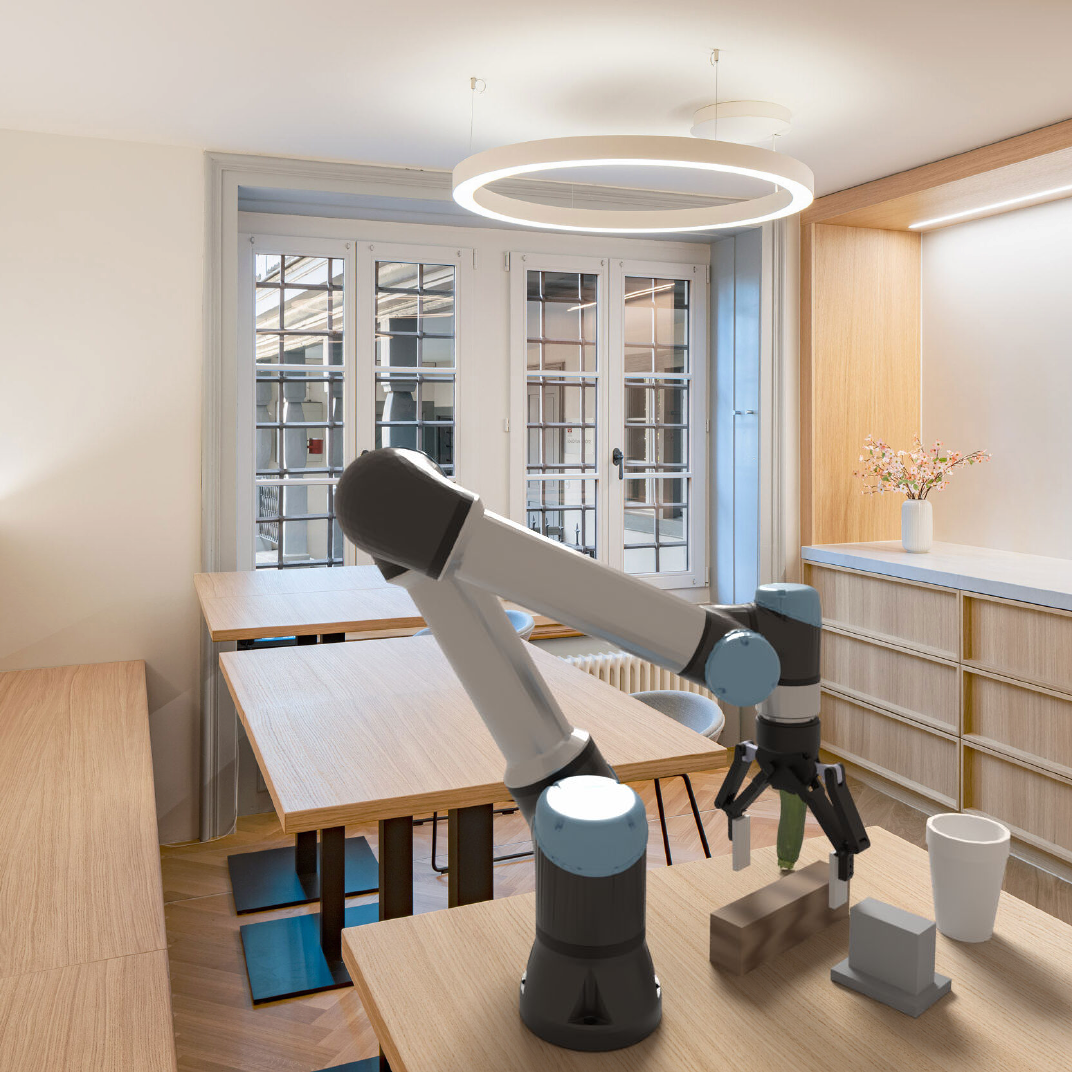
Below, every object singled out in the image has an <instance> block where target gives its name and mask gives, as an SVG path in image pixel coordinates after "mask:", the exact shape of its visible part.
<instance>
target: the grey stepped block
mask: <svg viewBox="0 0 1072 1072" xmlns="http://www.w3.org/2000/svg"><path fill="white" fill-rule="evenodd" d="M936 923H937V922H936V921H934V920H932V919H929V918H926V917H924V916H921V915H918V914H915V913H913V912H910V911H908V910H905V909H902V908H901V907H900V908H899V907H897V906H894V905H892V904H889V903H887V902H884V901H881V900H878V899H876V898H873V897H870V896H868V897H865V899H863V900H861V901H859V902H857V903H856V904H854V905H853V906H851V907H849V927H848V928H849V931H848V932H849V933H848V935H849V937H848V956H847V957H846V958H844V959H843V960H842V961H840V962H838V963H837V964H835V965H834V966H833V967H831V968H830V980H832V981H833V982H836V983H838V984H841V985H843V986H845V987H848V988H850V989H852V990H853V991H856V992H858V993H860V994H863V995H864V996H867V997H869V998H871V999H873V1000H875V1001H877V1002H880V1003H882V1004H884V1005H887V1006H888V1007H891V1008H892V1009H895V1010H898V1011H900V1012H902V1013H903V1014H906V1015H908V1016H910V1017H913V1018H915V1019H917V1018H918V1017H919V1016H920V1015H922V1014H923V1013H924V1012H925V1011H926V1010H928V1009H930V1007H932V1005H934V1004H935V1003H936V1002H937V1001H939V1000H940V999H941V998H942V997H944V996H946V995H947V993H948V992H949V991H951V990H952V982H953V981H952V978H950V977H948V976H946V975H943V974H941V973H939V972H936V971H935V970H936V969H935V968H936V967H935V966H936V948H937V947H936V945H937V943H936V942H937V927H936Z"/></svg>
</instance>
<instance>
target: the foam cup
mask: <svg viewBox="0 0 1072 1072" xmlns="http://www.w3.org/2000/svg"><path fill="white" fill-rule="evenodd" d="M925 825H926V829H925V830H926V831H925V844H926V845H927V850H928V859H929V860H928V861H929V870H930V880H931V881H930V882H931V889H932V891H931V892H932V899H933V911H934V919H935V921H934V922H937V923H936V929H938V931H939V933H941V934H942V935H944V936H946V937H948V938H950V939H953V940H955V941H959V942H963V943H972V944H973V943H974V944H977V943H985V942H984V941H986V942H987V941H989V940H991V939H992V934H993V931H994V927H995V921H996V917H997V916H996V915H997V911H998V906H999V901H1000V896H1001V891H1002V885H1003V880H1004V876H1005V870H1006V865H1007V860H1008V858H1009V857H1010V847H1011V846H1010V845H1011V830H1009V829H1008V828H1007V827H1006V826H1004V825H1003V824H1002V823H999V822H997V821H995V820H992V819H990V818H987V817H983V816H977V815H975V814H969V813H959V812H958V813H957V812H956V813H955V812H947V813H938V814H935V815H933V816H930V817H928V818H927V820H926V824H925Z"/></svg>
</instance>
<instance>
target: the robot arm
mask: <svg viewBox="0 0 1072 1072" xmlns="http://www.w3.org/2000/svg"><path fill="white" fill-rule="evenodd" d="M338 479H339V480H338V481H337V484H336V489H335V492H334V502H333V503H334V504H333V507H334V513H335V517H336V521H337V524H338V526H339V528H340V530H341V531H342V533H343V535H344V536H345V538H347V540H348V541H350V543H352V544H353V545H354V546H355V547H356V548H357V549H358V550H360V551H362V552H364V553H365V554H367V555H369V556H371V558H372V560H373V562H374V563H375V566H376V567H377V568H378V570H379V572H380V573H381V576H382V577H383V578H384V580H385V581H386V583H388V584H392V585H395V586H398V587H402V588H404V589H405V590H406V591H407V593H408V595H409V596H410V598H411V601H412V602H413V603H414V605H415V607H416V608H417V611H418V612H419V614H420V615H421V618H422V619H423V621H424V622H425V623H426V625H427V627H428V628H429V631H430V633H431V634H432V636H433V637H434V639H435V641H436V643H437V645H438V646H439V648H440V650H441V651H442V654H443V655H444V657H445V659H446V660H447V661H448V663H449V665H450V667H451V668H452V670H453V672H454V673H455V675H456V677H457V679H458V681H459V682H460V684H461V685H462V687H463V689H464V691H465V692H466V695H467V696H468V697H469V700H470V701H471V703H472V704H473V706H474V708H475V709H476V711H477V714H478V715H479V717H480V718H481V720H482V722H483V723H484V725H485V727H486V728H487V731H488V732H489V733H490V735H491V737H492V740H493V741H494V742H495V745H496V746H497V748H498V749H499V751H500V752H501V754H502V756H503V758H504V759H505V761H506V768H505V770H504V773H503V779H502V781H503V783H504V786H505V788H506V789H507V791H508V792H509V793H510V796H511V797H512V799H513V801H514V803H515V805H516V806H517V807H518V809H519V811H520V813H521V814H522V816H523V818H524V820H525V822H526V823H527V825H528V828H529V830H530V835H531V842H532V851H533V856H534V871H535V879H534V880H535V887H534V888H535V891H534V892H535V937H534V941H533V944H532V947H531V950H530V953H529V956H528V960H527V964H526V970H525V971H524V973H523V975H522V976H521V980H520V983H519V988H518V990H519V991H518V992H519V994H518V996H519V1000H518V1001H519V1005H518V1006H519V1013H520V1017H521V1019H522V1021H523V1023H524V1024H525V1025H526V1027H527V1028H528V1029H529V1030H530V1031H531V1032H532V1033H534V1034H535V1035H536V1036H537V1037H539V1038H541V1039H543V1040H545V1041H547V1042H548V1043H551V1044H553V1045H557V1046H559V1047H563V1048H566V1049H571V1050H577V1051H578V1050H579V1051H584V1052H585V1051H587V1052H598V1051H600V1052H601V1051H613V1050H615V1049H616V1050H617V1049H622V1048H625V1047H628V1046H631V1045H634V1044H636V1043H638V1042H640V1041H643V1040H644V1039H645V1038H647V1037H648V1036H649V1035H651V1034H653V1032H654V1031H655V1030H656V1029H657V1027H658V1025H659V1024H660V1021H661V1019H662V1014H663V1008H662V1007H663V991H662V987H661V986H662V985H661V983H660V981H659V978H658V976H657V974H656V971H655V965H654V962H653V958H652V954H651V952H650V949H649V945H648V943H647V937H646V936H647V935H646V934H647V929H646V928H647V926H646V925H647V923H646V921H647V852H648V851H647V849H648V848H647V847H648V845H647V844H648V840H649V832H650V831H649V823H648V818H647V811H646V806H645V803H644V801H643V798H641V796H640V795H639V793H638V792H636V790H634V789H633V788H632V787H631V786H629V785H627V784H623V783H622V784H621V782H620V779H619V777H618V774H617V773H616V772H615V770H614V768H613V767H612V765H611V764H609V763H608V762H607V759H605V758H604V756H603V754H602V752H601V751H600V749H599V748H598V746H597V744H596V742H595V741H594V739H593V737H592V735H591V733H590V732H589V731H588V730H587V729H586V728H585V727H581V726H577V725H572V724H570V722H569V721H568V719H567V717H566V715H565V714H564V712H563V710H562V708H561V707H560V704H559V703H558V701H557V700H556V698H555V696H554V695H553V693H552V691H551V690H550V687H549V686H548V684H547V683H546V681H545V679H544V677H543V675H542V674H541V672H540V670H539V668H538V667H537V665H536V663H535V661H534V660H533V658H532V656H531V653H530V652H529V651H528V649H527V647H526V645H525V644H524V641H523V640H522V639H521V636H520V635H519V633H518V631H517V630H516V628H515V626H514V625H513V623H512V620H511V619H510V617H509V616H508V614H507V612H506V610H505V609H504V607H503V605H502V603H501V602H500V600H499V598H501V599H504V600H506V601H508V602H510V603H512V604H515V605H517V606H520V607H521V608H524V609H527V610H528V611H531V612H533V613H536V614H537V615H540V616H542V617H545V618H547V619H549V620H551V621H552V622H553V621H554V622H556V623H558V624H560V625H563V626H565V627H566V628H570V629H572V630H574V631H576V632H579V633H581V634H583V635H586V636H587V637H590V638H593V639H594V640H597V641H599V642H602V643H604V644H606V645H609V646H611V647H613V648H615V649H616V650H617V649H618V650H619V651H622V652H625V653H627V654H629V655H630V656H631V655H632V656H633V657H636V658H638V659H640V660H642V661H645V662H647V663H649V664H652V665H654V666H657V667H658V668H661V669H663V670H665V671H668V672H670V673H672V674H673V675H676V676H678V677H680V678H682V679H684V680H686V681H689V682H691V683H693V684H695V685H698V686H700V687H702V688H704V689H707V690H708V691H710V693H712V694H713V696H714V697H715V698H716V699H718V700H720V701H723V702H725V703H726V704H728V705H731V706H734V707H740V708H748V707H749V708H750V707H753V706H755V708H754V709H755V710H756V712H758V713H757V714H756V716H755V742H756V744H757V745H756V744H755V742H754V741H753V740H752V739H748V740H745V741H742V742H740V743H737V744H735V746H734V755H733V761H732V762H731V766H730V768H729V769H728V771H727V773H726V776H725V778H724V780H723V783H722V784H721V787H720V789H719V791H718V793H717V795H716V797H715V799H714V802H713V805H714V808H716V809H717V810H722V811H723V812H724V813H725V815H726V817H727V837H728V838H727V839H728V840H729V841H730V842H732V847H731V848H732V855H731V857H732V858H731V859H732V871H734V872H737V873H738V872H740V871H742V870H744V869H745V868H748V867H749V866H751V815H750V814H746V813H745V812H747V811H748V809H749V807H750V806H751V805H752V804H753V803H755V801H756V800H757V799H758V798H759V797H760V796H761V795H762V794H763V792H764V791H765V790H766V789H767V788H768V787H769V786H771V789H773V790H777V791H779V790H784V791H786V792H787V793H789V794H793V795H795V794H798V796H799V797H800V799H801V800H802V801H803V802H804V803H806V804H807V808H809V810H810V812H811V814H812V815H813V817H814V818H815V819H816V822H817V823H818V825H819V826H820V828H821V829H822V831H823V832H824V834H825V835H826V837H827V839H828V841H829V842H830V844H831V845H832V847H833V849H834V850H831V851H830V852H829V853H828V857H829V858H828V860H829V861H828V863H829V907H830V908H833V909H836V908H838V907H839V906H841V905H842V904H844V903H846V902H847V881H848V880H849V879H850V880H851V879H853V876H854V875H855V872H854V871H855V870H854V869H855V865H854V864H855V863H854V862H855V855H859V854H861V853H862V852H864V851H866V850H867V849H869V848H871V846H872V845H871V840H870V838H869V835H868V833H867V831H866V827H865V826H864V823H863V820H862V818H861V817H860V816H861V815H860V813H859V811H858V809H857V806H856V803H855V802H854V797H853V796H852V794H851V791H850V788H849V786H848V784H847V778H846V777H847V775H846V768H845V765H844V764H843V763H841V762H836V763H835V764H828V763H827V764H826V763H822V761H821V759H820V756H819V753H820V749H821V748H820V747H821V743H822V741H821V740H822V739H821V737H822V736H821V735H822V731H821V729H822V727H821V726H822V725H821V723H822V722H821V721H822V720H821V718H820V717H819V716H818V715H819V714H820V713H821V708H822V707H821V695H822V694H821V689H822V687H821V683H822V681H821V676H822V675H821V667H822V666H821V662H822V661H821V658H822V657H821V656H822V628H823V621H822V606H821V605H822V604H821V596H820V593H819V591H818V590H817V589H816V588H815V587H813V586H810V585H808V584H802V583H795V582H793V583H792V582H775V583H774V582H773V583H764V584H761V585H760V586H758V587H756V589H755V595H754V598H753V601H752V602H747V603H737V604H736V603H733V604H695V603H692V602H690V601H688V600H686V599H684V598H682V597H679V596H677V595H675V594H672V593H671V592H669V591H666V590H664V589H663V588H662V589H661V588H659V587H657V586H655V585H653V584H650V583H648V582H646V581H644V580H642V579H639V578H637V577H635V576H633V575H631V574H628V573H626V572H624V571H622V570H620V569H617V568H616V567H614V566H611V565H609V564H606V563H605V562H602V561H601V560H598V559H596V558H593V557H591V556H589V555H587V554H585V553H582V552H580V551H578V550H576V549H574V548H572V547H569V546H566V545H565V544H563V543H561V542H558V541H556V540H554V539H551V538H549V537H547V536H545V535H543V534H540V533H538V532H536V531H534V530H531V529H530V528H528V527H525V526H522V525H521V524H518V523H516V522H514V521H512V520H510V519H507V518H505V517H503V516H501V515H499V514H497V513H494V512H492V511H489V510H488V509H486V508H485V507H484V505H483V502H482V500H481V497H480V495H479V494H477V493H474V492H472V491H470V490H468V489H466V488H463V487H462V486H460V485H457V484H456V483H454V482H452V481H451V480H449V478H448V475H447V474H446V473H445V471H444V469H443V468H442V466H441V465H440V464H439V463H438V462H437V461H436V460H435V459H434V458H433V457H432V456H430V455H428V454H427V453H425V452H424V451H422V450H420V449H417V448H415V447H414V448H413V447H410V446H406V445H391V446H385V447H382V448H376V449H373V450H372V449H371V450H370V451H368V452H365V453H363V454H362V455H360V456H358V457H356V458H355V459H353V461H352V462H351V463H350V464H349V465H348V466H347V467H346V468H345V470H344V471H343V472H342V474H341V476H340V477H339V478H338ZM498 597H499V598H498ZM753 761H756V763H757V764H758V766H759V768H760V771H759V772H758V773H757V774H756V775H755V776H753V778H752V780H751V782H750V783H749V784H748V785H747V786H746V787H745V789H743V791H741V793H740V794H739V795H737V794H738V793H739V790H740V789H741V786H742V784H743V782H744V780H745V778H746V777H747V774H748V772H749V770H750V768H751V766H752V765H753ZM819 776H820V777H821V781H820V779H819ZM822 783H823V784H824V785H825V787H824V785H823V784H822ZM808 788H809V789H810V788H811V791H810V790H809V791H808V790H807V789H808ZM825 793H827V795H826V794H825ZM736 796H737V797H736ZM827 796H828V797H827Z"/></svg>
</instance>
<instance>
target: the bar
mask: <svg viewBox="0 0 1072 1072" xmlns="http://www.w3.org/2000/svg"><path fill="white" fill-rule="evenodd" d="M850 890H851V879H849V880H848V881H847V902H846V903H844V904H842V905H841V906H839V907H838V908H836V909H833V908H830V907H829V862H826V861H824V860H821V859H819V860H817V861H814V862H812V863H810V864H808V865H806V866H804V867H802V868H801V869H798V870H796V871H794V872H792V873H790V874H788V875H786V876H783V877H782V878H780V879H777V880H776V881H774V882H772V883H769V884H767V885H766V886H764V887H761V888H759V889H757V890H755V891H753V892H751V893H749V894H747V895H744V896H742V897H741V898H738V899H736V900H734V901H732V902H730V903H728V904H725V905H724V906H721V907H720V908H718V909H716V910H714V911H711V912H710V913H709V917H710V918H709V961H710V962H711V963H713V964H715V965H717V966H718V967H721V968H722V969H725V970H727V971H729V972H731V973H733V974H735V975H736V976H738V977H740V978H741V977H743V976H745V975H747V974H748V973H750V972H752V971H753V970H755V969H757V968H759V967H760V966H762V965H764V964H766V963H768V962H769V961H771V960H772V959H774V958H777V957H778V956H780V955H782V954H783V953H785V952H786V951H788V950H790V949H792V948H794V947H795V946H798V945H799V944H800V943H803V942H804V941H806V940H808V939H809V938H811V937H813V936H814V935H816V934H819V933H820V932H822V931H824V930H825V929H827V928H828V927H831V926H832V925H834V924H836V923H837V922H839V921H841V920H843V919H845V918H846V917H848V916H850V892H851V891H850Z"/></svg>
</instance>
